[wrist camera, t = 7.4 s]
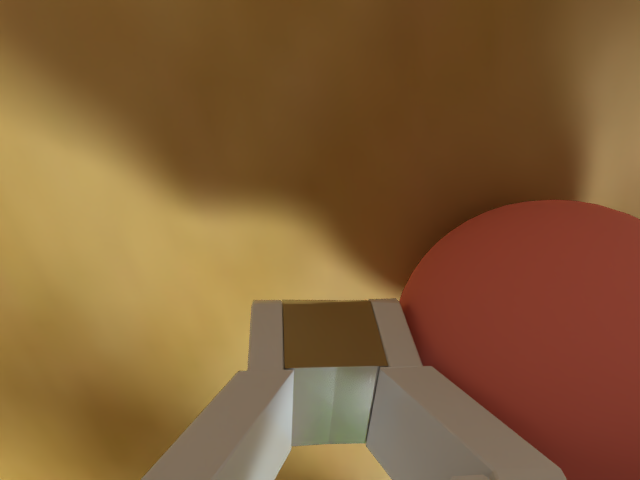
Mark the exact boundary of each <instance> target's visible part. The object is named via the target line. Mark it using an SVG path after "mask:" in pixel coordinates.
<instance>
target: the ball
mask: <svg viewBox="0 0 640 480" xmlns="http://www.w3.org/2000/svg"><path fill="white" fill-rule="evenodd" d="M399 302H400V305H401V307H402V310H403V313H404V315H405V318H406V321H407V324H408V326H409V329H410V332H411V335H412V337H413V340H414V343H415V345H416V348H417V351H418V354H419V356H420V359H421V362H422V365H423V366H432V367H434V368H435V369H436V370H437V371H439V372H440V373H441V374H442V375H444V376H445V377H446V378H447V379H449V380H450V381H451V382H452V383H454V384H455V385H456V386H457V387H459V388H460V389H461V390H463V391H464V392H465V393H466V394H468V395H469V396H470V397H471V398H473V399H474V400H475V401H476V402H478V403H479V404H480V405H481V406H483V407H484V408H485V409H486V410H488V411H489V412H490V413H491V414H493V415H494V416H495V417H497V418H498V419H499V420H500V421H502V422H503V423H504V424H505V425H507V426H508V427H509V428H510V429H512V430H513V431H514V432H515V433H517V434H518V435H519V436H520V437H522V438H523V439H524V440H525V441H527V442H528V443H529V444H530V445H532V446H533V447H534V448H536V449H537V450H538V451H539V452H541V453H542V454H543V455H544V456H546V457H547V458H548V459H549V460H551V461H552V462H553V463H554V464H556V465H557V466H558V467H559V468H561V470H562V472H563V473H564V475H565V477H566V479H567V480H640V219H638V218H636V217H633V216H631V215H629V214H626V213H623V212H620V211H617V210H613V209H610V208H607V207H604V206H600V205H596V204H591V203H585V202H580V201H570V200H539V201H526V202H520V203H515V204H510V205H505V206H502V207H499V208H496V209H493V210H490V211H487V212H484V213H482V214H480V215H478V216H476V217H474V218H472V219H469V220H468V221H466V222H464V223H463V224H461V225H460V226H458V227H457V228H455V229H453V230H452V231H450V232H449V233H448V234H447V235H445V236H444V237H443V238H442V239H441V240H439V241H438V242H437V243H436V244H435V245H434V246H433V247H432V248H431V249H430V250H429V251H428V252H427V254H426V255H425V256H424V257H423V258H422V259H421V261H420V262H419V264H418V265H417V267H416V268H415V269H414V271H413V272H412V274H411V276H410V278H409V280H408V282H407V284H406V286H405V288H404V290H403V292H402V295H401V298H400V301H399Z"/></svg>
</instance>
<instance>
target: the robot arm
mask: <svg viewBox="0 0 640 480" xmlns="http://www.w3.org/2000/svg"><path fill="white" fill-rule="evenodd" d="M348 443H366V447H367V448H368V449H369V450H370V452H371V453H372V454H373V456H374V457H375V458H376V459H377V461H378V462H379V463H380V465H381V466H382V467H383V468H384V470H385V471H386V472H387V474H388V475H389V476H390V477H391V479H392V480H567V479H566V477H565V475H564V473H563V472H562V470H561V468H559V467H558V466H557V465H556V464H554V463H553V462H552V461H551V460H549V459H548V458H547V457H546V456H544V455H543V454H542V453H541V452H539V451H538V450H537V449H536V448H534V447H533V446H532V445H530V444H529V443H528V442H527V441H525V440H524V439H523V438H522V437H520V436H519V435H518V434H517V433H515V432H514V431H513V430H512V429H510V428H509V427H508V426H507V425H505V424H504V423H503V422H502V421H500V420H499V419H498V418H497V417H495V416H494V415H493V414H491V413H490V412H489V411H488V410H486V409H485V408H484V407H483V406H481V405H480V404H479V403H478V402H476V401H475V400H474V399H473V398H471V397H470V396H469V395H468V394H466V393H465V392H464V391H463V390H461V389H460V388H459V387H457V386H456V385H455V384H454V383H452V382H451V381H450V380H449V379H447V378H446V377H445V376H444V375H442V374H441V373H440V372H439V371H437V370H436V369H435V368H434V367H432V366H423V365H422V362H421V359H420V356H419V354H418V351H417V348H416V345H415V343H414V340H413V337H412V335H411V332H410V329H409V326H408V324H407V321H406V318H405V315H404V313H403V310H402V307H401V305H400V302H399V301H398V300H397V299H396V298H392V299H369V300H282V301H281V300H253V303H252V307H251V323H250V339H249V354H248V370H247V371H238V372H237V373H236V374H235V375H234V376H233V377H232V379H231V380H230V381H229V382H228V383H227V384H226V385H225V386H224V387H223V389H222V390H221V391H220V392H219V393H218V394H217V395H216V396H215V397H214V399H213V400H212V401H211V402H210V403H209V404H208V405H207V406H206V407H205V409H204V410H203V411H202V412H201V413H200V414H199V415H198V416H197V417H196V419H195V420H194V421H193V422H192V423H191V424H190V425H189V426H188V427H187V429H186V430H185V431H184V432H183V433H182V434H181V435H180V436H179V437H178V439H177V440H176V441H175V442H174V443H173V444H172V445H171V446H170V447H169V449H168V450H167V451H166V452H165V453H164V454H163V455H162V456H161V457H160V459H159V460H158V461H157V462H156V463H155V464H154V465H153V466H152V467H151V469H150V470H149V471H148V472H147V473H146V474H145V475H144V476H143V478H142V479H141V480H275V478H276V476H277V474H278V472H279V471H280V469H281V467H282V465H283V463H284V462H285V460H286V458H287V456H288V454H289V453H290V451H291V446H304V445H318V444H348Z"/></svg>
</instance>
